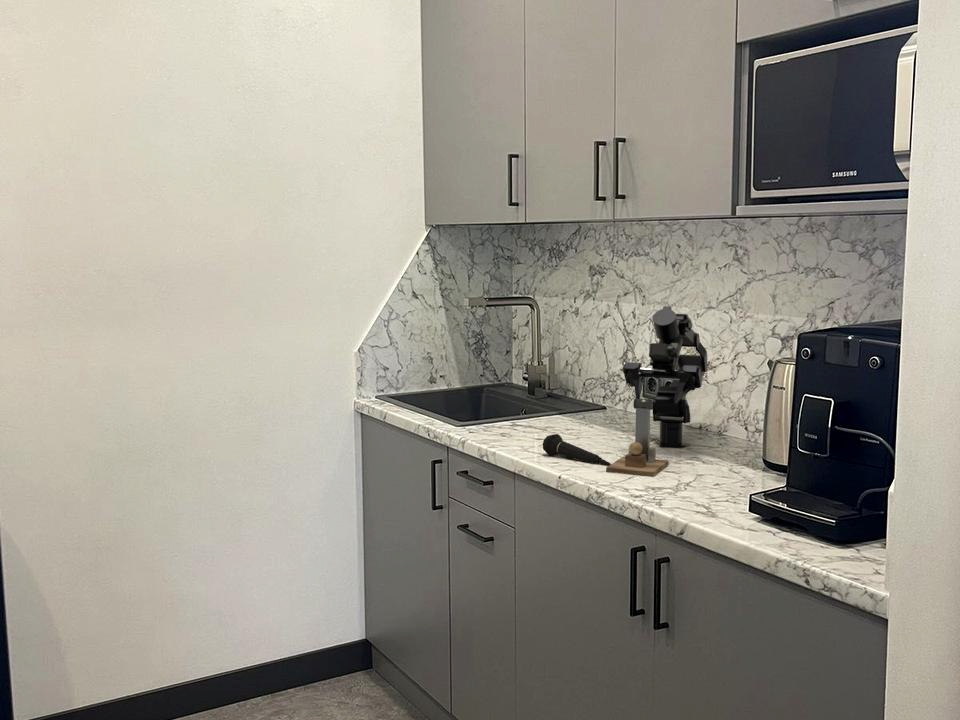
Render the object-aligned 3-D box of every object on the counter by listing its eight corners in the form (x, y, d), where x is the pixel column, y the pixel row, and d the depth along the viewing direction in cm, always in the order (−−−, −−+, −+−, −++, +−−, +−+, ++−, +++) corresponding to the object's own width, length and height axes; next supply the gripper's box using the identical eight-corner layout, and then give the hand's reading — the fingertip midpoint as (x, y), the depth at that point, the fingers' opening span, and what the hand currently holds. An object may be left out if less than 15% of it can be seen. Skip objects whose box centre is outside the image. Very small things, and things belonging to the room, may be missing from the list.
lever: (635, 457, 230) (636, 397, 228) (652, 459, 228) (653, 398, 226) (632, 459, 228) (633, 399, 226) (649, 461, 226) (650, 400, 224)
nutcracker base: (623, 460, 233) (623, 433, 232) (668, 464, 228) (669, 437, 227) (606, 471, 221) (606, 443, 221) (653, 476, 217) (653, 448, 216)
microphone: (612, 478, 229) (548, 455, 242) (620, 454, 229) (555, 433, 243) (600, 475, 225) (535, 451, 238) (607, 451, 225) (542, 429, 239)
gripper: (625, 329, 241) (612, 377, 232) (701, 332, 234) (690, 382, 225) (633, 359, 249) (620, 406, 240) (706, 362, 242) (696, 412, 233)
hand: (655, 401), depth 234 cm, fingers open, 9 cm apart
